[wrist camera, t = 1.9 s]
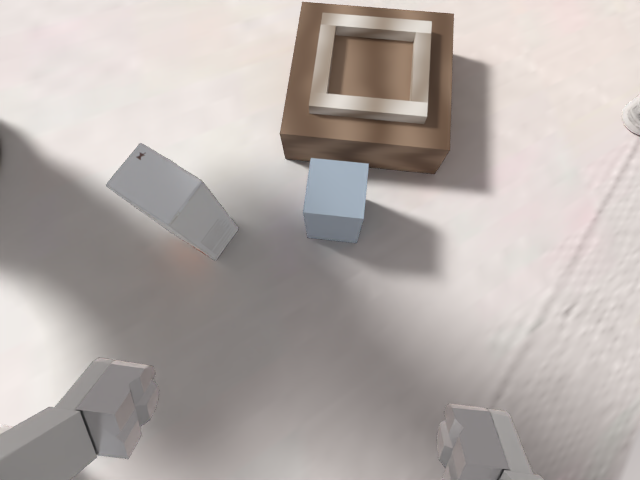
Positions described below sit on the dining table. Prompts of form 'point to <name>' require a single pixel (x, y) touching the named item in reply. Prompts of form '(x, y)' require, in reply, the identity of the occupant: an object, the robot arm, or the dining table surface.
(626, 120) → the pill bottle
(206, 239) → the skincare box
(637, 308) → the dining table surface
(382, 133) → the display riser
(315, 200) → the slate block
